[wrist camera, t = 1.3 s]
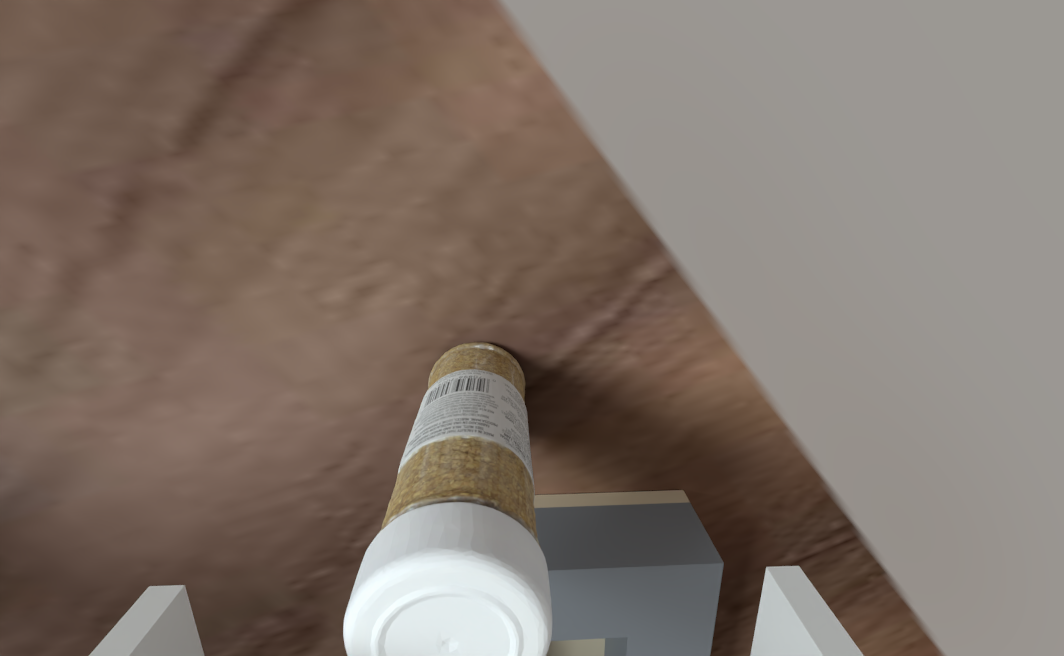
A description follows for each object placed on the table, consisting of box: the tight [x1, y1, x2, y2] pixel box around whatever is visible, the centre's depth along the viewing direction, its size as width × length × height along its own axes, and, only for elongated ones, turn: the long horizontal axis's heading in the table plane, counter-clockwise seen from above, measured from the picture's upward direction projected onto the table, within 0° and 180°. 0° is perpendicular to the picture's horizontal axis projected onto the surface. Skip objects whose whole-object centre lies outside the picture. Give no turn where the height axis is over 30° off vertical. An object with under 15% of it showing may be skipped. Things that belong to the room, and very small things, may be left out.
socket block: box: [534, 490, 724, 656], centre depth 25 cm, size 14×14×5 cm
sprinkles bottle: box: [343, 342, 552, 656], centre depth 17 cm, size 5×5×14 cm
